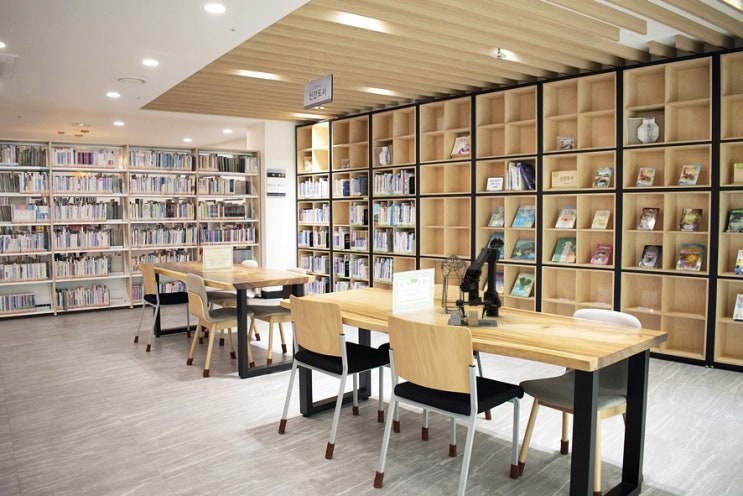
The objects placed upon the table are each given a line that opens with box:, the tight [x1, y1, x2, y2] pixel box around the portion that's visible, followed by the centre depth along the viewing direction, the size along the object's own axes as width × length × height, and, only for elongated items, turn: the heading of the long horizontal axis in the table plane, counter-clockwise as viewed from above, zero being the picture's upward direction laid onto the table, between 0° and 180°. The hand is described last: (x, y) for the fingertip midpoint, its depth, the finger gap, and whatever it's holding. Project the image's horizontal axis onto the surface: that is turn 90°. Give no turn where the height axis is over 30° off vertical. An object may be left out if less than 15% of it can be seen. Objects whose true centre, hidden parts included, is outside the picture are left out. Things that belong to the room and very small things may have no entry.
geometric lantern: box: [440, 254, 468, 314], centre depth 348 cm, size 16×16×35 cm
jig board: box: [447, 318, 499, 328], centre depth 313 cm, size 18×26×1 cm
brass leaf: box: [463, 310, 479, 327], centre depth 313 cm, size 16×8×5 cm, turn 170°
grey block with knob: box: [449, 309, 468, 327], centre depth 314 cm, size 16×9×5 cm, turn 170°
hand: (473, 319), depth 313 cm, fingers open, 9 cm apart
